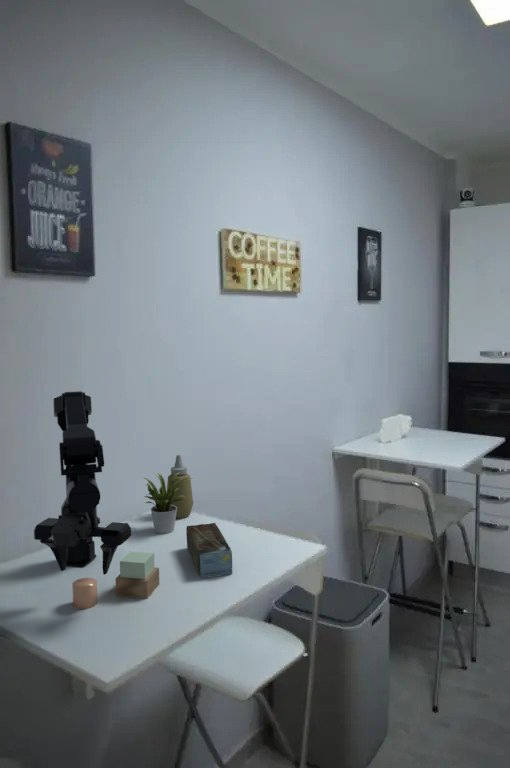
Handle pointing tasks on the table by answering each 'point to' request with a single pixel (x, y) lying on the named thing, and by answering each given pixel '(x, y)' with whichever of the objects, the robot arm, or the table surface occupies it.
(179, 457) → the squeeze bottle
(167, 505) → the house plant
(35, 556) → the table surface
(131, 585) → the base block
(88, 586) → the pink domed cylinder
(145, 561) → the top block
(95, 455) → the robot arm
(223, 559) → the beverage carton
